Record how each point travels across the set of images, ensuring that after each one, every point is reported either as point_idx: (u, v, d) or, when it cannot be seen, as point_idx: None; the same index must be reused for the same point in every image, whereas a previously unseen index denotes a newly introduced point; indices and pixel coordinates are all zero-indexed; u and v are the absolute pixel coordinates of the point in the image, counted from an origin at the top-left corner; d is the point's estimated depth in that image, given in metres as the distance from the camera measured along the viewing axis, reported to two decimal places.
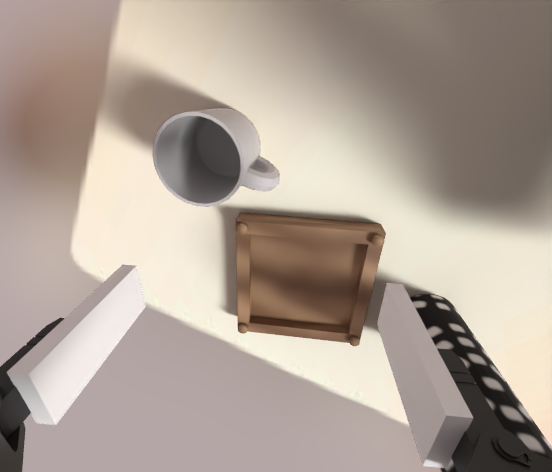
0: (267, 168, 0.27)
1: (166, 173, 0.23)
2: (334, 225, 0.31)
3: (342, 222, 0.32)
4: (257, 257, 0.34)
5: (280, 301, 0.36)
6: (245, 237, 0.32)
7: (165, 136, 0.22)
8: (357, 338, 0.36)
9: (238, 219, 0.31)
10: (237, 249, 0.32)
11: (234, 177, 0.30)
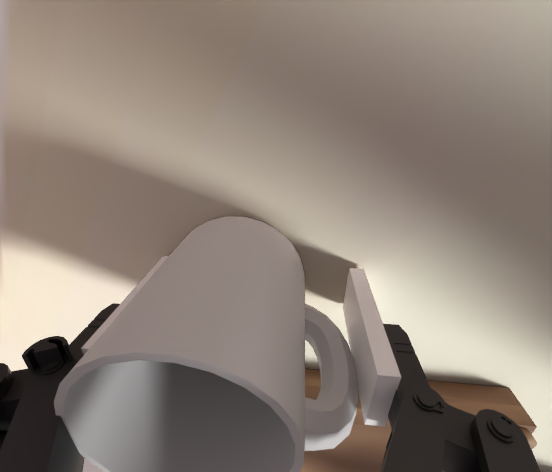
0: (327, 346, 0.13)
1: (106, 426, 0.10)
2: None
3: (443, 387, 0.18)
4: None
5: None
6: None
7: None
8: None
9: None
10: None
11: None
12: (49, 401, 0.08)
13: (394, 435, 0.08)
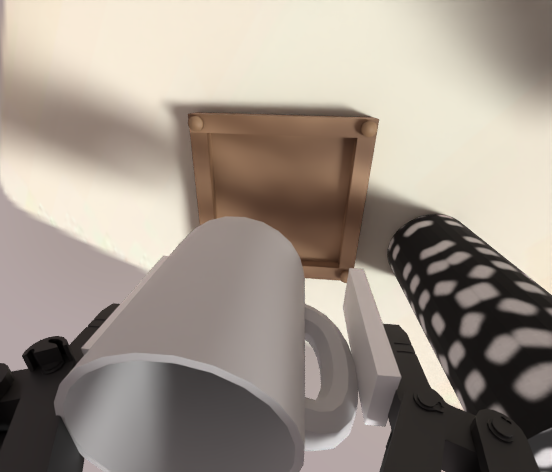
0: (327, 347, 0.13)
1: (106, 426, 0.10)
2: (313, 116, 0.24)
3: (324, 116, 0.25)
4: (221, 171, 0.27)
5: None
6: (202, 138, 0.25)
7: None
8: None
9: (191, 113, 0.24)
10: (194, 156, 0.26)
11: None
12: (49, 401, 0.08)
13: (394, 435, 0.08)
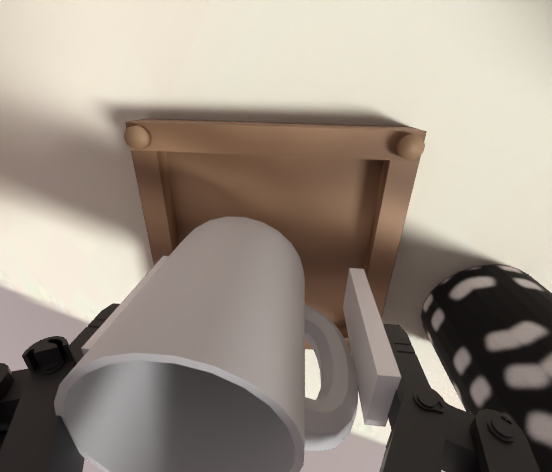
0: (327, 347, 0.13)
1: (106, 426, 0.10)
2: (321, 126, 0.16)
3: (337, 125, 0.16)
4: (185, 204, 0.19)
5: None
6: (149, 159, 0.16)
7: None
8: None
9: (132, 121, 0.16)
10: (140, 185, 0.17)
11: None
12: (49, 401, 0.08)
13: (394, 435, 0.08)
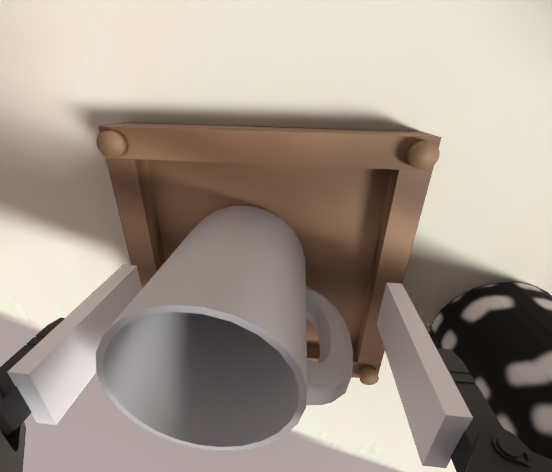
0: (326, 321, 0.14)
1: (133, 383, 0.11)
2: (320, 131, 0.14)
3: (338, 129, 0.15)
4: (169, 217, 0.17)
5: None
6: (127, 168, 0.14)
7: None
8: (374, 370, 0.19)
9: (107, 125, 0.14)
10: (117, 197, 0.15)
11: None
12: None
13: None
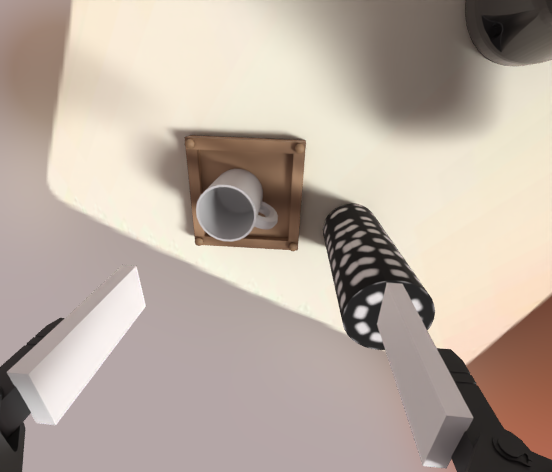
0: (269, 211, 0.38)
1: (203, 220, 0.35)
2: (266, 139, 0.38)
3: (273, 139, 0.39)
4: (207, 174, 0.41)
5: None
6: (193, 153, 0.38)
7: (203, 197, 0.34)
8: (295, 244, 0.43)
9: (187, 137, 0.38)
10: (188, 164, 0.39)
11: (244, 214, 0.42)
12: None
13: None
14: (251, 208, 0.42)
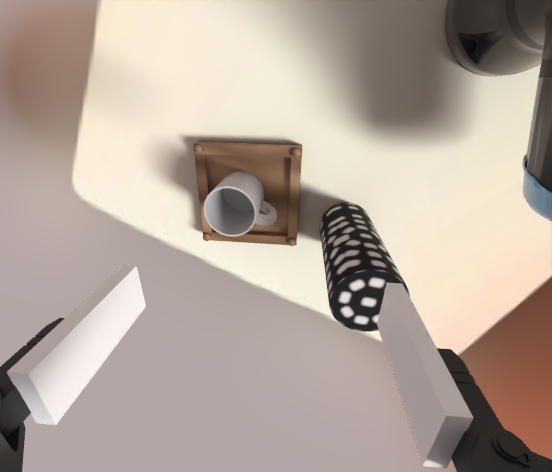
0: (269, 209, 0.43)
1: (209, 217, 0.39)
2: (266, 145, 0.42)
3: (273, 144, 0.43)
4: (213, 176, 0.45)
5: None
6: (201, 157, 0.43)
7: (210, 197, 0.38)
8: (293, 239, 0.47)
9: (195, 143, 0.42)
10: (197, 167, 0.43)
11: (247, 212, 0.46)
12: None
13: None
14: (253, 207, 0.46)
